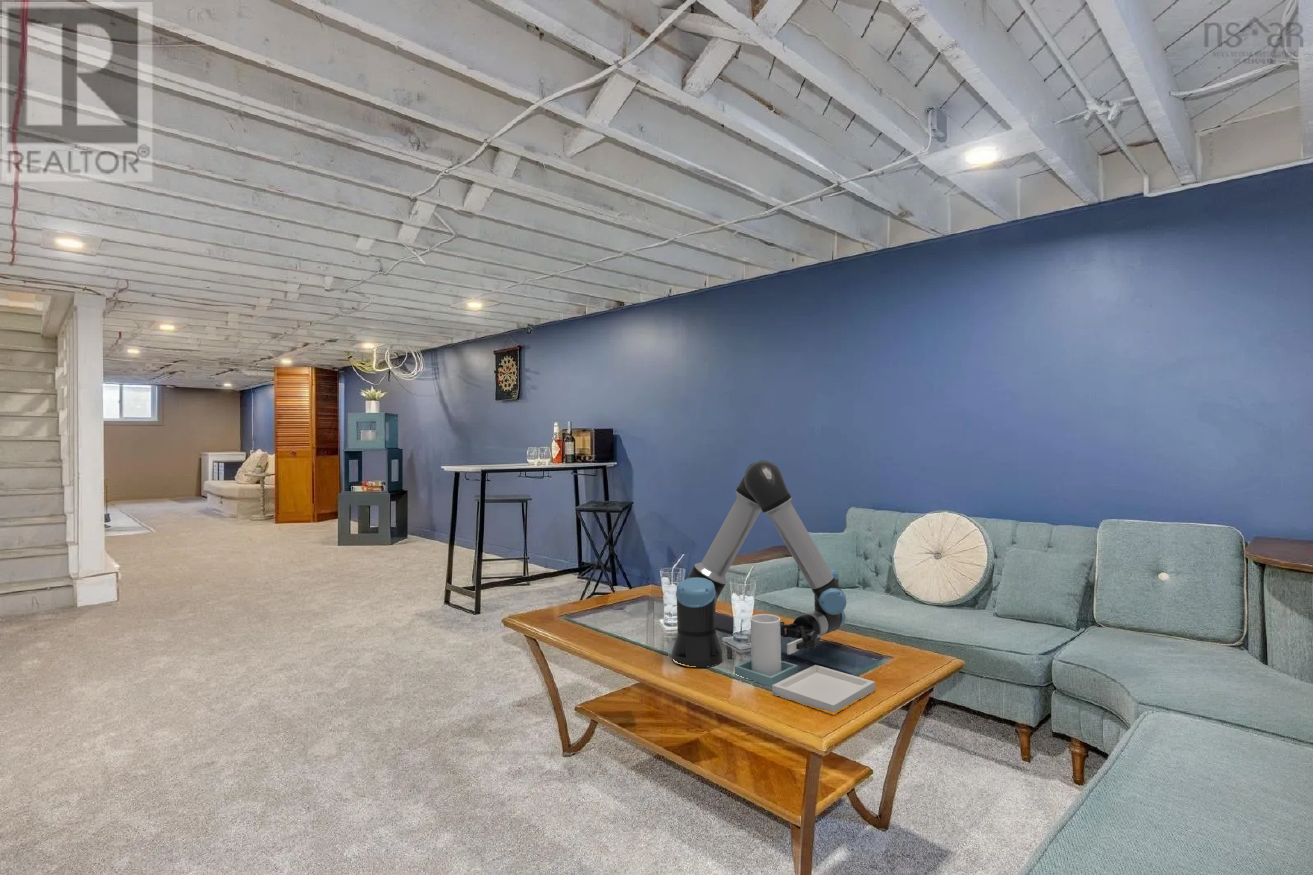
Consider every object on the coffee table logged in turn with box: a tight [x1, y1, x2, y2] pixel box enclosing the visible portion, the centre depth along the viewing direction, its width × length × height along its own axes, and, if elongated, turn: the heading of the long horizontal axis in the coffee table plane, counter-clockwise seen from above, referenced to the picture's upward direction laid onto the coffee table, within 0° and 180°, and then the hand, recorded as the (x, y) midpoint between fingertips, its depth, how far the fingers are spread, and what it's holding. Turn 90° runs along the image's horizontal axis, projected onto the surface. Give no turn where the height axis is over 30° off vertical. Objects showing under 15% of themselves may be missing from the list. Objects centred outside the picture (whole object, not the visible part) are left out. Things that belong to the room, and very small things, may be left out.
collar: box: [734, 659, 799, 688], centre depth 179 cm, size 13×13×2 cm
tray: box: [771, 664, 876, 712], centre depth 166 cm, size 20×18×2 cm
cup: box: [750, 613, 782, 676], centre depth 179 cm, size 8×8×16 cm
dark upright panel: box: [715, 612, 734, 635], centre depth 228 cm, size 13×2×21 cm
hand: (767, 643), depth 179 cm, fingers open, 13 cm apart
